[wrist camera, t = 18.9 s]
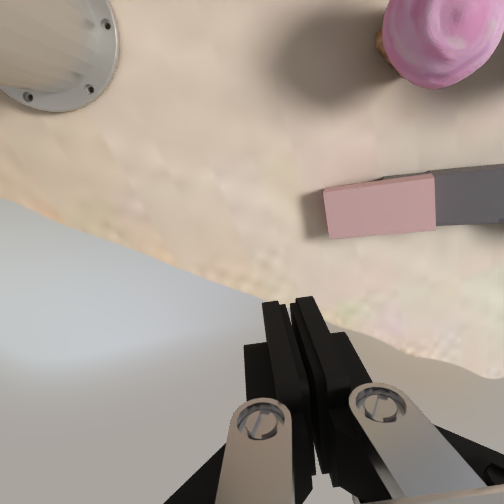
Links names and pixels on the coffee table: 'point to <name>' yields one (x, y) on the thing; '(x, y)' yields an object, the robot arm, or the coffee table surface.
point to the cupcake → (439, 38)
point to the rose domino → (381, 207)
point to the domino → (466, 195)
